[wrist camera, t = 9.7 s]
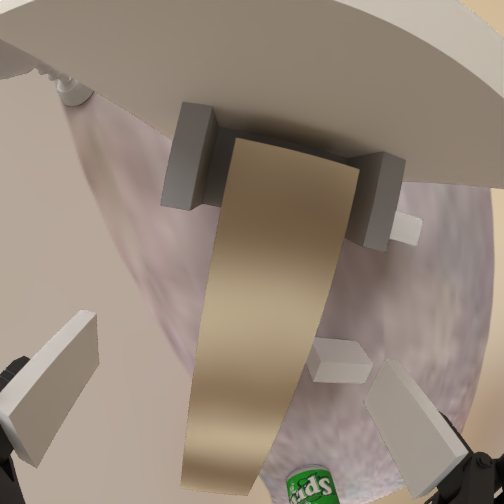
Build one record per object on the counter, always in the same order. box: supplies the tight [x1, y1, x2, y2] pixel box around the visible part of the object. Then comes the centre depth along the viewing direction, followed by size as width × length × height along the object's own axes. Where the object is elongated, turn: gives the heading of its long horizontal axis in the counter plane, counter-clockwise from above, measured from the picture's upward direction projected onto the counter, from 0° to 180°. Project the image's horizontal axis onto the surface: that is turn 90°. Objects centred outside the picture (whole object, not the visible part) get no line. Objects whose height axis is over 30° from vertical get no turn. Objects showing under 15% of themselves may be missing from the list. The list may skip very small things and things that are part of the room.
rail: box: [181, 138, 360, 496], centre depth 12 cm, size 18×4×4 cm, turn 168°
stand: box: [306, 211, 423, 384], centre depth 26 cm, size 18×6×5 cm, turn 168°
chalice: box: [0, 39, 94, 106], centre depth 14 cm, size 7×7×18 cm
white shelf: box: [0, 0, 504, 252], centre depth 16 cm, size 20×14×24 cm
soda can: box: [286, 465, 340, 504], centre depth 31 cm, size 8×8×12 cm
